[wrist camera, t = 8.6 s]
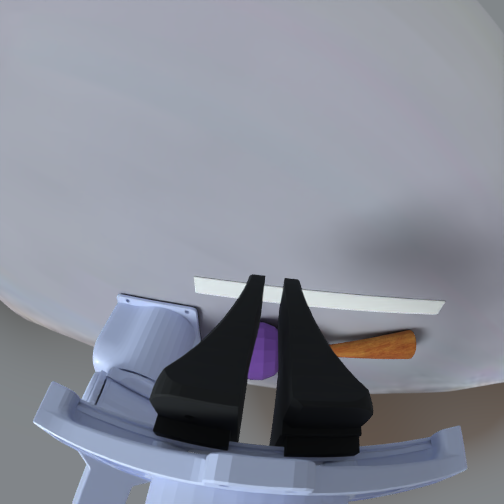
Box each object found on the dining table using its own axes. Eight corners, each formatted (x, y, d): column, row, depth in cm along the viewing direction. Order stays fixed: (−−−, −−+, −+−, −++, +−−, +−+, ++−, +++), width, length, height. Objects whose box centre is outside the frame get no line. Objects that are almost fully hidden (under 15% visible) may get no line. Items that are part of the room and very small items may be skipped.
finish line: (196, 291, 27) (195, 292, 27) (194, 276, 26) (194, 277, 26) (436, 313, 25) (437, 314, 25) (444, 300, 24) (445, 301, 24)
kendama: (402, 377, 27) (227, 385, 27) (393, 334, 31) (231, 336, 31) (427, 356, 22) (222, 366, 23) (414, 308, 27) (227, 309, 27)
